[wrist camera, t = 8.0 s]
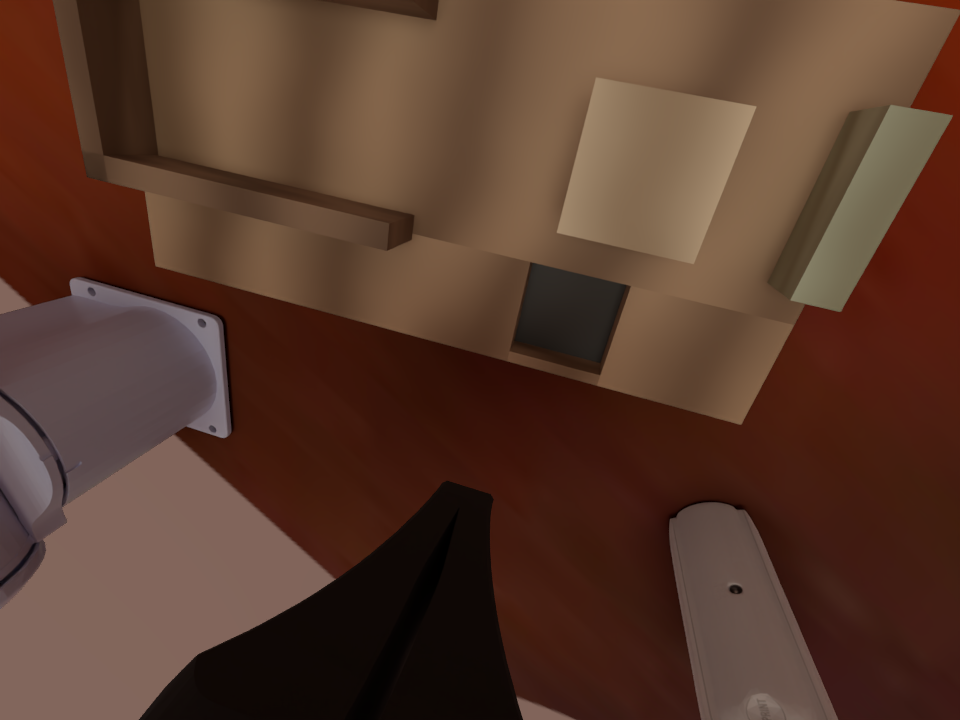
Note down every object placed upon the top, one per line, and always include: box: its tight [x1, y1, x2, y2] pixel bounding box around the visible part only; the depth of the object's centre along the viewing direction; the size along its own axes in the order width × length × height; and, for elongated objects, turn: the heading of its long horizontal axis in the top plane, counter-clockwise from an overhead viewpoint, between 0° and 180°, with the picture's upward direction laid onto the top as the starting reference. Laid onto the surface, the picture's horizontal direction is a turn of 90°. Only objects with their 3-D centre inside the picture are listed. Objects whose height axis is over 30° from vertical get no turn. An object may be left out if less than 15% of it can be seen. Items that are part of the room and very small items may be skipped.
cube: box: [557, 77, 757, 264], centre depth 14 cm, size 4×4×4 cm
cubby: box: [53, 0, 439, 251], centre depth 17 cm, size 13×8×2 cm, turn 80°
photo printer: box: [669, 502, 838, 720], centre depth 18 cm, size 10×4×12 cm, turn 23°
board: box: [139, 0, 960, 425], centre depth 17 cm, size 28×14×4 cm, turn 80°
